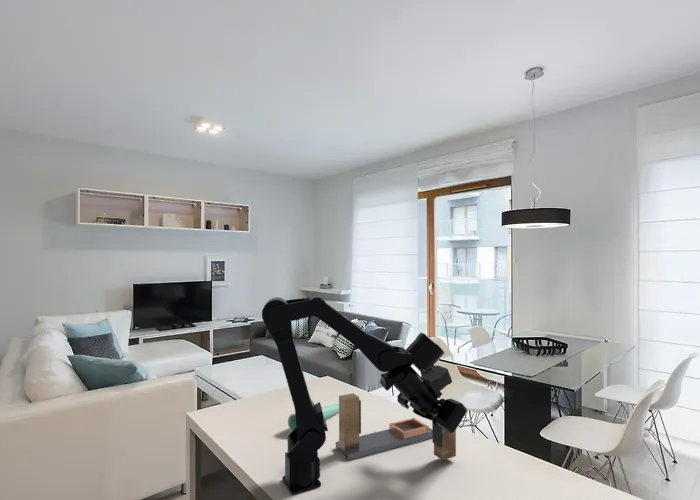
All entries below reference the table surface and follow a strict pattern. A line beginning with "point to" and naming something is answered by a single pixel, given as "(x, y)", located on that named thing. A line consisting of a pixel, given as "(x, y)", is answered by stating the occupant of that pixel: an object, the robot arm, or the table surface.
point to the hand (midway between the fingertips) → (449, 425)
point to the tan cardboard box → (443, 442)
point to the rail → (374, 442)
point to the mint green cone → (327, 411)
